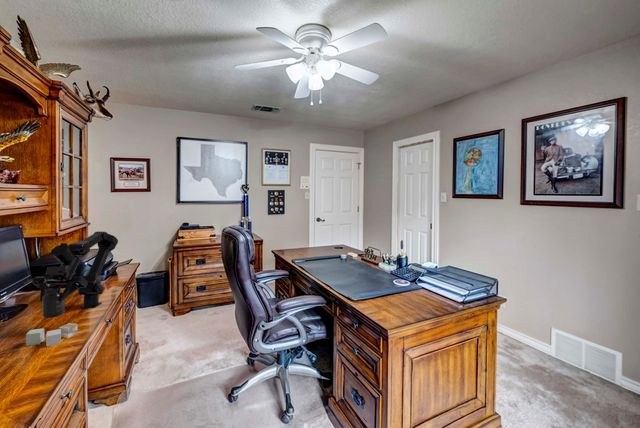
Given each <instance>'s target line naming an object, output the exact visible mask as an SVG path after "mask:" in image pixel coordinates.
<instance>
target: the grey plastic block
mask: <svg viewBox="0 0 640 428" xmlns="http://www.w3.org/2000/svg"><path fill="white" fill-rule="evenodd" d="M45 339H46V341H45V342H46V343H45V344H46V346H47V347H50V346H51V347H53V346H55V345H60V344H61V343H62V337H61V329H59V328H57V329H54V330H48V331H46V335H45Z"/></svg>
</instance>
